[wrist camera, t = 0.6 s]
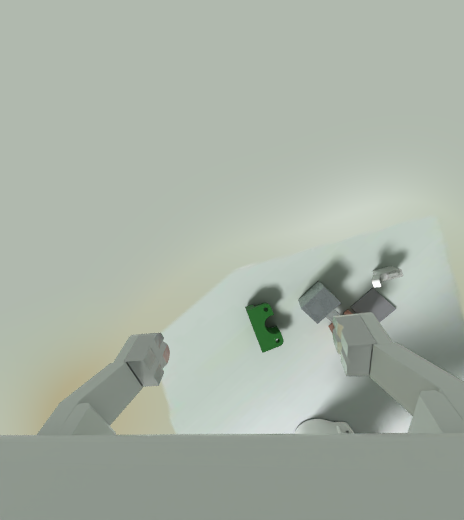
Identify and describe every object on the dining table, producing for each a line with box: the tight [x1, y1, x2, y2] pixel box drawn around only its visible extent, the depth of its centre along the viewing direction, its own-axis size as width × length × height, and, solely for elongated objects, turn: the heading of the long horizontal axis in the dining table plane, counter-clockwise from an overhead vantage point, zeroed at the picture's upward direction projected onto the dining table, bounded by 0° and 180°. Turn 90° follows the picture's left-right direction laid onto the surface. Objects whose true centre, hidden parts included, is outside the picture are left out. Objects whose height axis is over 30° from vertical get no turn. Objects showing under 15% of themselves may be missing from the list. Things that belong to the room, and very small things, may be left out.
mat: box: [351, 288, 396, 322], centre depth 54 cm, size 7×7×1 cm
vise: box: [299, 281, 341, 324], centre depth 53 cm, size 16×7×7 cm, turn 47°
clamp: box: [245, 303, 283, 353], centre depth 58 cm, size 12×6×9 cm, turn 15°
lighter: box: [372, 266, 403, 288], centre depth 49 cm, size 7×2×8 cm, turn 108°
